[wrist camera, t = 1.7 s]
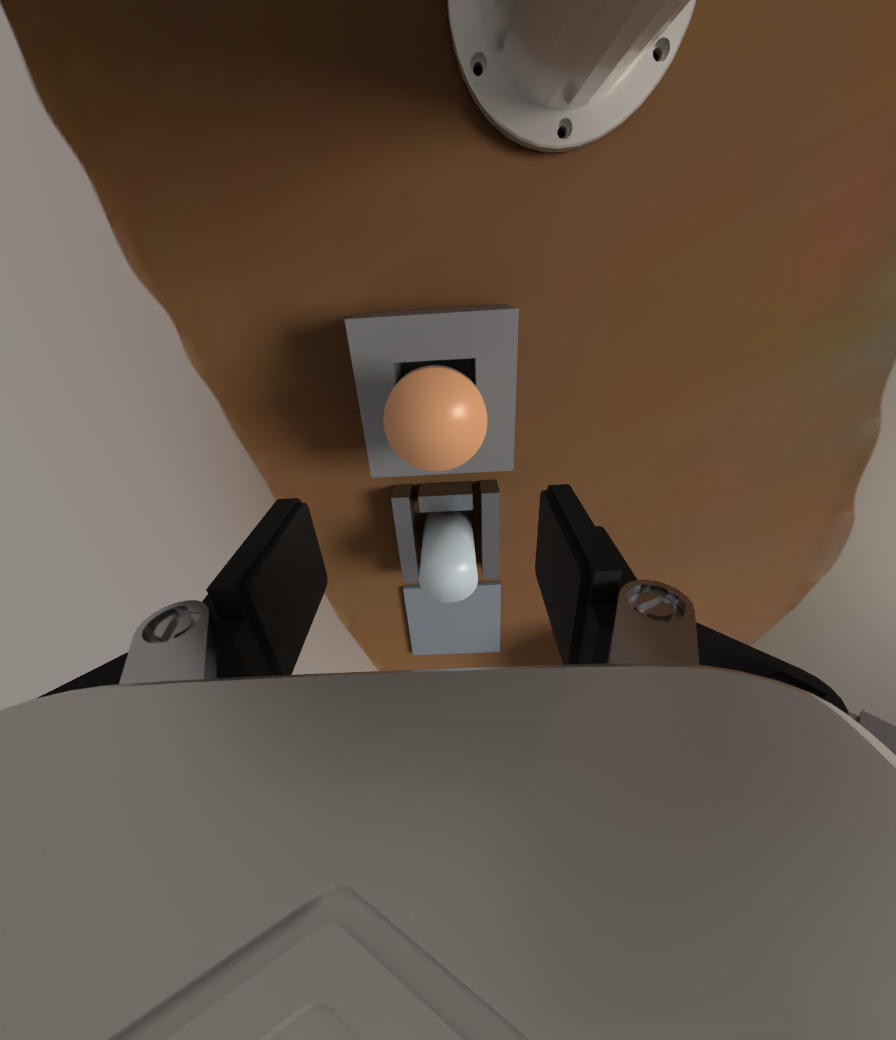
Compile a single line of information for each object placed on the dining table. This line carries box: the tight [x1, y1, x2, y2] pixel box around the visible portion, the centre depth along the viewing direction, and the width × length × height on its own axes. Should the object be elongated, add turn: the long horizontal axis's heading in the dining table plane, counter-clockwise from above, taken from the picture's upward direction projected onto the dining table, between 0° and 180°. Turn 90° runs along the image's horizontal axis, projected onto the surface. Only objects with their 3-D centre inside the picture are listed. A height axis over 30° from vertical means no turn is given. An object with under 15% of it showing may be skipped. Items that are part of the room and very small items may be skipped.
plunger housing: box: [344, 304, 519, 478], centre depth 28 cm, size 10×10×6 cm
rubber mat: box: [403, 581, 501, 655], centre depth 43 cm, size 10×10×1 cm
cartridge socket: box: [391, 480, 500, 582], centre depth 36 cm, size 9×9×2 cm
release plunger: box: [383, 364, 487, 471], centre depth 24 cm, size 6×6×6 cm
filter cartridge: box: [419, 510, 478, 603], centre depth 33 cm, size 4×4×8 cm
